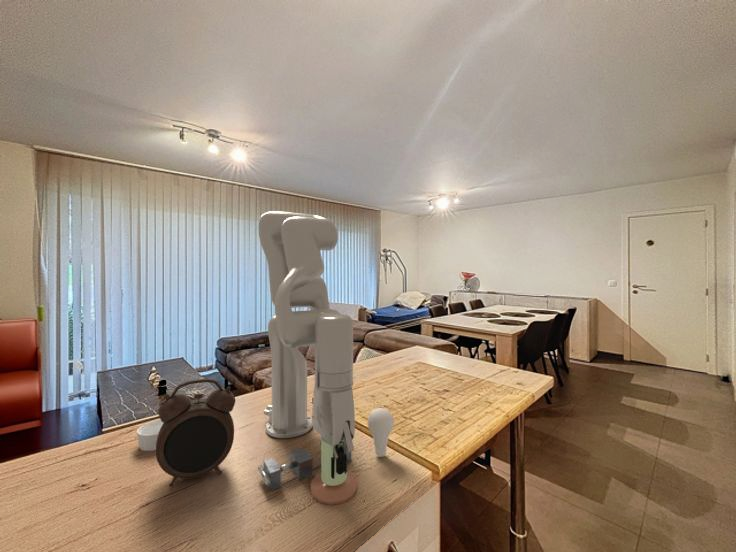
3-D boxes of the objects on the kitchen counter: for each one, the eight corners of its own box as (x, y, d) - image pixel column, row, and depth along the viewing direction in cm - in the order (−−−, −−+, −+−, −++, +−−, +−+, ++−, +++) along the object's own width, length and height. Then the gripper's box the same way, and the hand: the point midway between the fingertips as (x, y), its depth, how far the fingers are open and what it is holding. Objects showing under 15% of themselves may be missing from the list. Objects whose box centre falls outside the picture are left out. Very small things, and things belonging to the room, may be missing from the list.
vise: (257, 477, 65) (257, 460, 65) (339, 448, 75) (339, 434, 75) (265, 494, 60) (265, 476, 60) (352, 461, 70) (352, 445, 70)
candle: (339, 467, 65) (339, 427, 65) (351, 480, 61) (351, 438, 61) (317, 475, 63) (317, 434, 63) (327, 489, 58) (327, 445, 58)
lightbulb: (392, 465, 69) (392, 416, 69) (364, 462, 70) (365, 413, 70) (395, 450, 75) (395, 404, 75) (370, 447, 76) (370, 402, 76)
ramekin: (144, 457, 72) (144, 438, 72) (131, 444, 77) (131, 427, 77) (185, 441, 79) (185, 424, 79) (170, 430, 85) (170, 414, 85)
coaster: (301, 493, 60) (301, 488, 60) (329, 468, 68) (329, 463, 68) (340, 511, 56) (340, 505, 56) (365, 482, 63) (365, 477, 63)
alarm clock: (153, 498, 59) (153, 392, 59) (158, 476, 65) (158, 380, 65) (236, 475, 66) (236, 380, 65) (234, 457, 72) (233, 370, 72)
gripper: (300, 369, 67) (300, 455, 67) (336, 395, 53) (336, 503, 53) (331, 364, 71) (331, 445, 71) (373, 386, 57) (373, 486, 57)
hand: (333, 468), depth 62 cm, fingers closed on candle, 3 cm apart
